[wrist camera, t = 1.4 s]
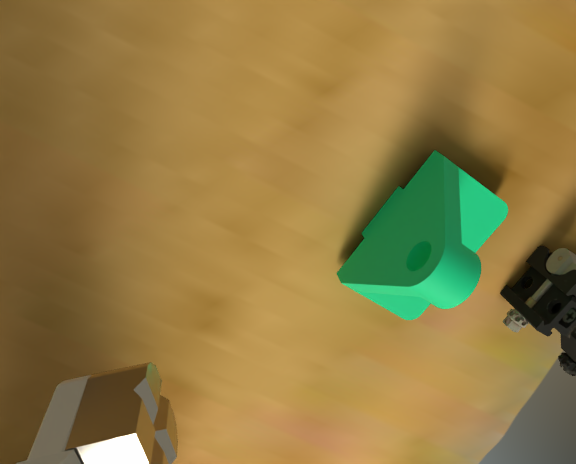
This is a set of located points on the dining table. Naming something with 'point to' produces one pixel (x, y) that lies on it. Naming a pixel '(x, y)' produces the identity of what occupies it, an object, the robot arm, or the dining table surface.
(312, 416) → the dining table surface
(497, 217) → the camera mount
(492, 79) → the dining table surface
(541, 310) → the scope
